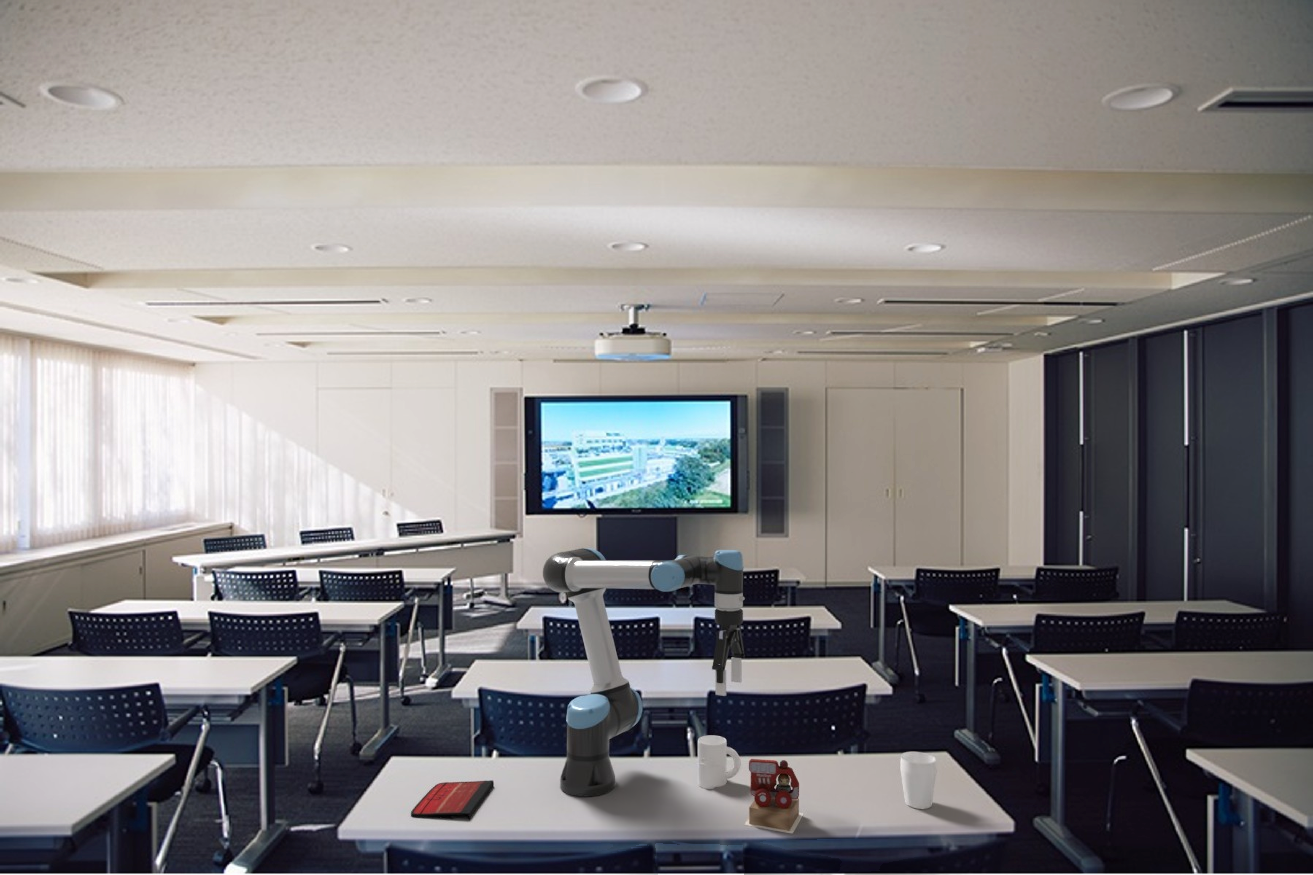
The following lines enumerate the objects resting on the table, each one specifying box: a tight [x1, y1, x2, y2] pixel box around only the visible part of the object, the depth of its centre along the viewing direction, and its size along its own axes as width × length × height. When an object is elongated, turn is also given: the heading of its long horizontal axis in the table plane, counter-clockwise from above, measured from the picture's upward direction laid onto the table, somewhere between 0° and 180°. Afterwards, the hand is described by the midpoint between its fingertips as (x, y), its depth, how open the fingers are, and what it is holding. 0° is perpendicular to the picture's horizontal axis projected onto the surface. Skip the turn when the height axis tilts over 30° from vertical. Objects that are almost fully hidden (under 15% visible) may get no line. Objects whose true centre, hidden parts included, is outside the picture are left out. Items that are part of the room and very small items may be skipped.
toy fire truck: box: [748, 758, 800, 809], centre depth 206 cm, size 7×12×10 cm, turn 81°
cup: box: [899, 751, 937, 810], centre depth 217 cm, size 9×9×12 cm
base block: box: [748, 797, 800, 831], centre depth 206 cm, size 10×10×4 cm
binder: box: [410, 779, 495, 820], centre depth 218 cm, size 16×2×21 cm
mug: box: [697, 734, 742, 790], centre depth 229 cm, size 8×12×12 cm
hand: (728, 688), depth 221 cm, fingers open, 13 cm apart
